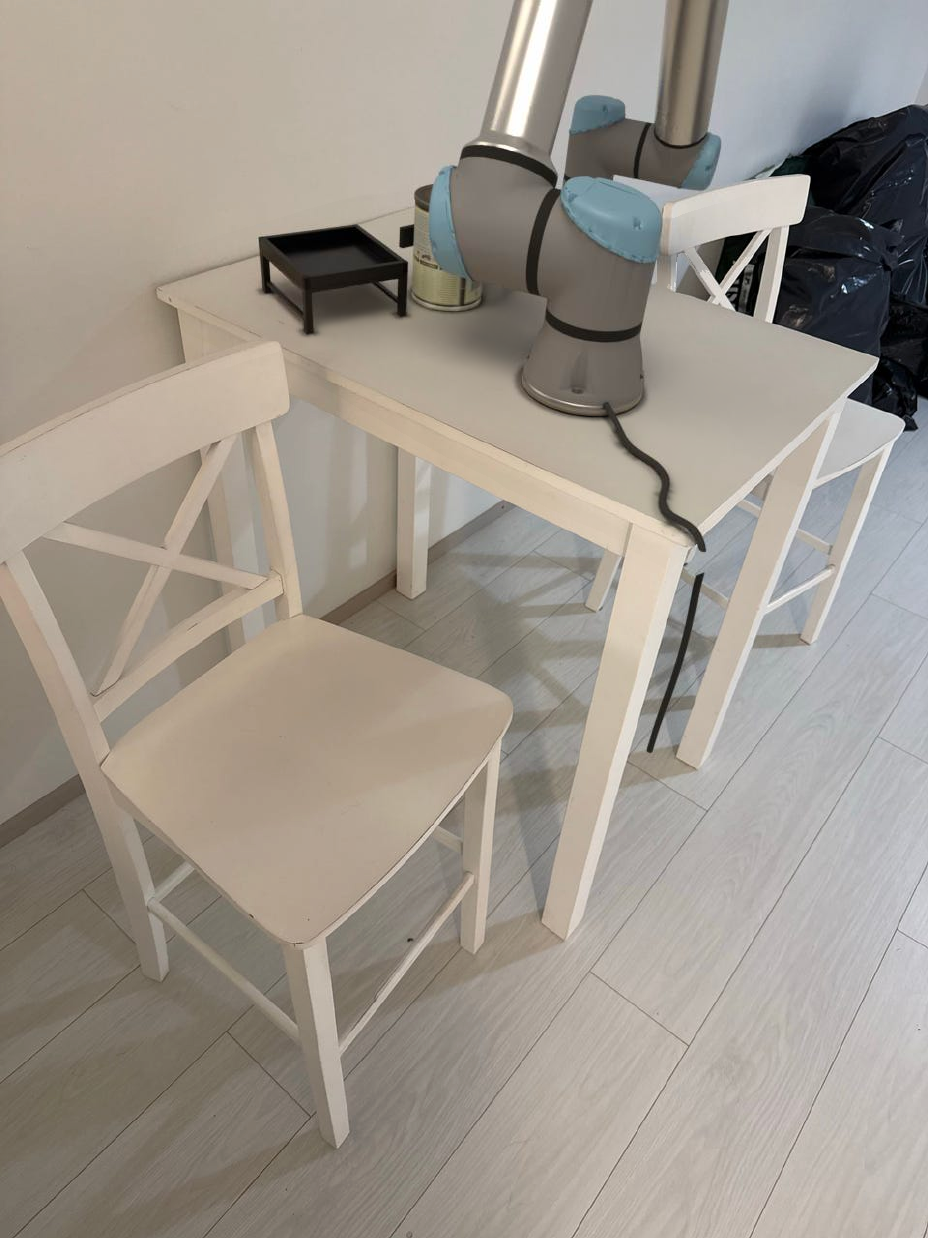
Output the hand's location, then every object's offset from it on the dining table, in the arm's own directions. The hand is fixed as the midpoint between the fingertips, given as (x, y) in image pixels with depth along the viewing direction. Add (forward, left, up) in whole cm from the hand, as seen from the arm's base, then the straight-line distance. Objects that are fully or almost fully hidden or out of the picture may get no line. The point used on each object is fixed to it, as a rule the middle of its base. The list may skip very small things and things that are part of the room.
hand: (425, 250), depth 124 cm
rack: (+5, +12, -7) cm, 15 cm away
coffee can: (+1, -4, -8) cm, 9 cm away
